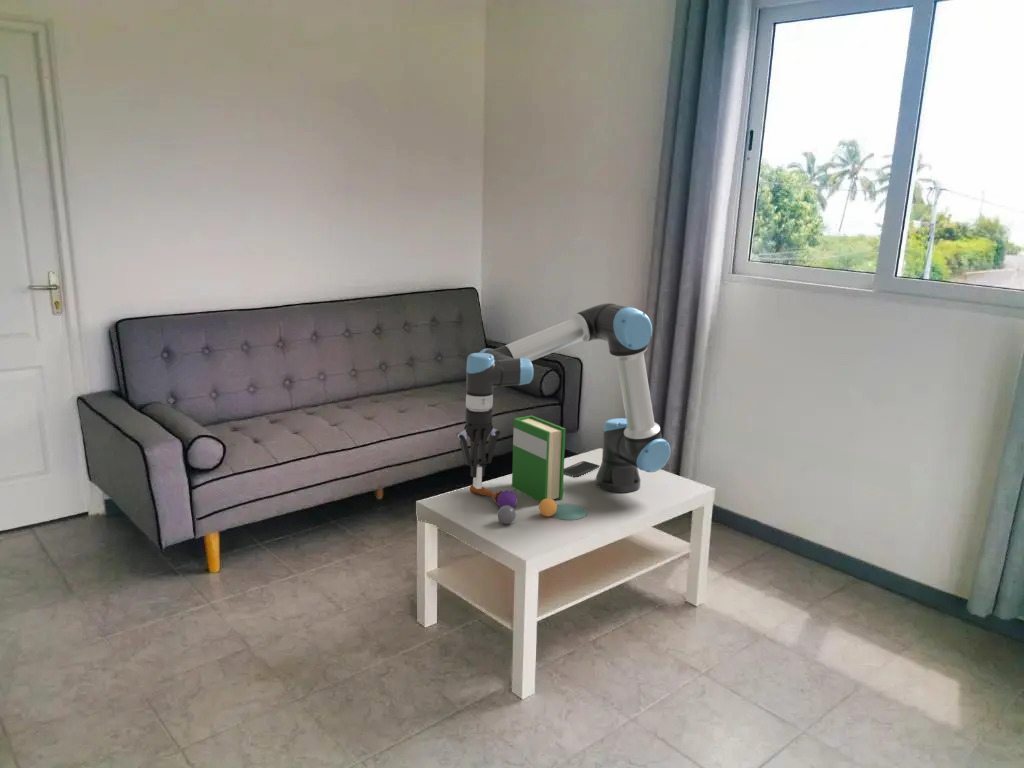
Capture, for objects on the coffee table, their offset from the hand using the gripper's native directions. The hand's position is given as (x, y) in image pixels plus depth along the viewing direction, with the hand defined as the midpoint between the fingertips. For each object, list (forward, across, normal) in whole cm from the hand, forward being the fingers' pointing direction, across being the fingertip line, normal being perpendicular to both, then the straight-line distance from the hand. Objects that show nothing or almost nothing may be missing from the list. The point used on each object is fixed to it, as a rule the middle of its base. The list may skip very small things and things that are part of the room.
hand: (477, 487), depth 216 cm
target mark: (+13, +31, 0) cm, 33 cm away
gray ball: (+10, +10, 0) cm, 14 cm away
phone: (+13, +55, +31) cm, 64 cm away
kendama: (+13, +13, +17) cm, 26 cm away
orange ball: (+10, +24, 0) cm, 26 cm away
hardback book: (+13, +30, +18) cm, 37 cm away
